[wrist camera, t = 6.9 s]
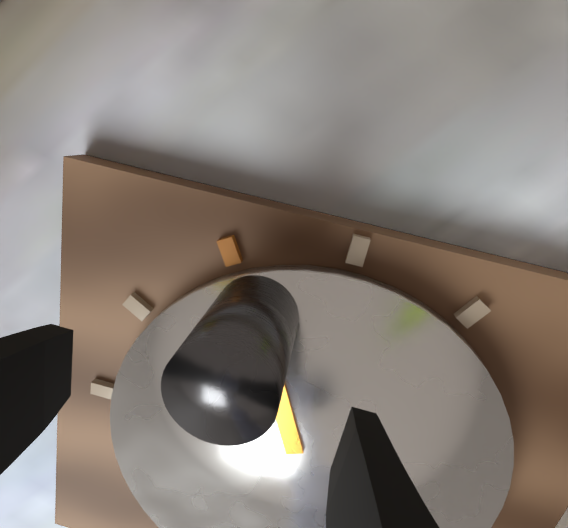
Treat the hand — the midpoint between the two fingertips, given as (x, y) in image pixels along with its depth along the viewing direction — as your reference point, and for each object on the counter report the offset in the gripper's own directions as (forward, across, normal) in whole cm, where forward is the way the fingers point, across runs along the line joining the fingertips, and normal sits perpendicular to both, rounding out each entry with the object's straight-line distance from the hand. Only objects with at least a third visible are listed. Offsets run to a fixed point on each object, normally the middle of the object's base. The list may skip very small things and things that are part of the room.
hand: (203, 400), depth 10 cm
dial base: (+7, -3, +6) cm, 9 cm away
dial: (+5, -3, +6) cm, 8 cm away
